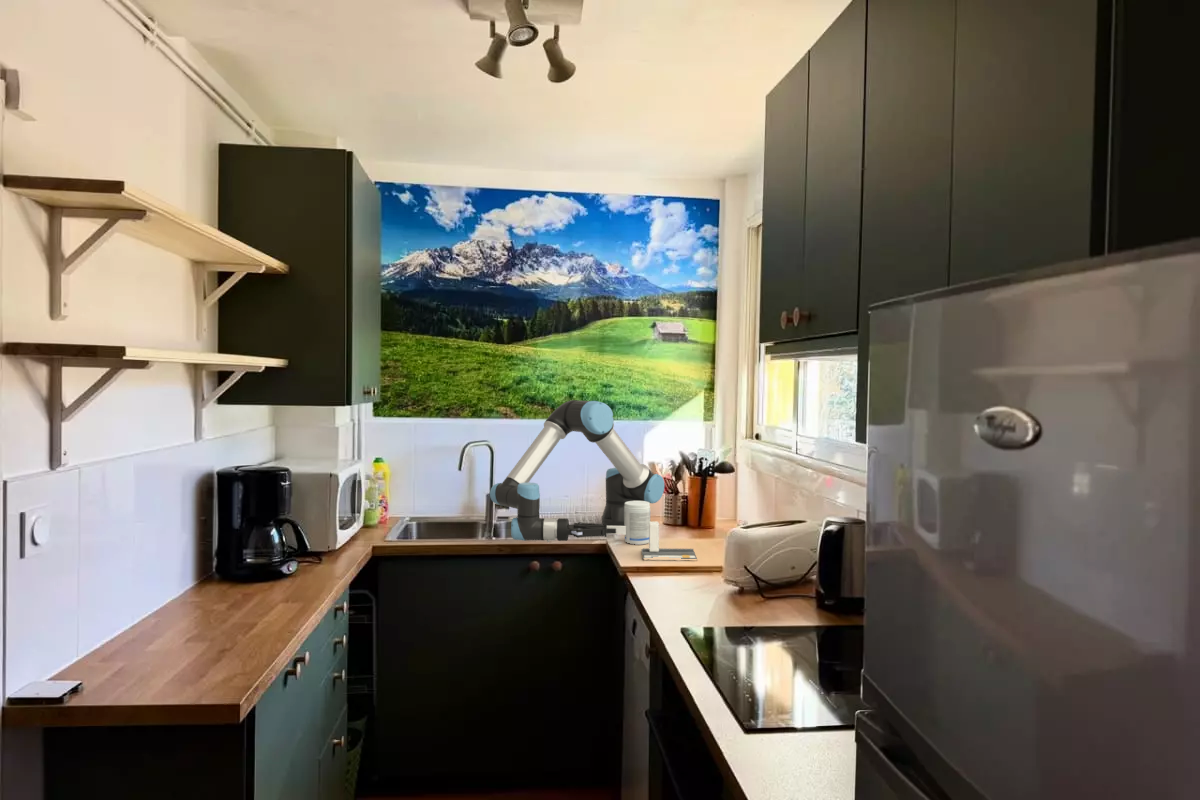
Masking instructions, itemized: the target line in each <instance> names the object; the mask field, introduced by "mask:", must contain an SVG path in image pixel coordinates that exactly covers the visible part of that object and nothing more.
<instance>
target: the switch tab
mask: <svg viewBox="0 0 1200 800" xmlns="http://www.w3.org/2000/svg"><path fill="white" fill-rule="evenodd" d="M648 545H649V546H648V548H649V552H659V549H660V523H659V521H650V522H649V543H648Z"/></svg>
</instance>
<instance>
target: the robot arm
mask: <svg viewBox="0 0 1200 800" xmlns="http://www.w3.org/2000/svg"><path fill="white" fill-rule="evenodd" d="M613 416H614V413H613V410H612V409H611V407H610V406H609V405H608V404H606V403H605V402H601V401H598V400H578V399H576V400H575V399H573V400H568V401H566V402H564V403H562V404H561V405H559V406H558V407H557V408H556V409H554V411H552V412H551V414H550V415H549V416H548V417H547V418H546V420H545V421H544V423H543V428H542V430H541V431H540V432H539V433H538V435H537V436H536V438H535V439H534V440H533V441H532V442H531V444H529V447H528V448H527V449H526V451H525V452H524V453H523V455H522V456H521V457H520V459H519V460H518V461H517V462H516V464H515V465H514V467H513V468H512V469H511V471H509V473H508V475H507V476H506V477H505V479H504V480H503V481H502V482H497V483H495V484H494V485H492V487H491V488H490V491H489V497H490V500H491V502H493V503H494V504H496V505H499V506H500V507H501V506H502V507H503V506H504V507H508V508H512V509H516V511H517V516H516V517H513V518H512V519H511V523H510V526H511V527H510V534H511V538H512V539H513V540H515V541H516V540H517V541H546V542H547V543H550V541H556V540H557V541H560V542H561V541H564V542H566V541H568V540H569V536H573V537H575V538H577V539H579V538H584V537H585V538H587V537H589V538H591V537H604V538H606V537H608V536H607V535H612V536H613V535H614V536H615V535H619V536H620V535H623V536H625V535H626V526H625V524H624V506H625V502H628V501H647V502H649V503H650V504H655V503H658V502H659V501H660V500H661V498H662V496H663V494H664V493H665V492H664V491H665V479H664V478H663V476H662V475H660V474H658V473H654V472H652V470H651V469H650V468H649V467H648V466H647V465H646V464H645V463H643V464H642V463H640V461H639V460H638V459H637V457H636V456H635V455H634V453H633V452H632V451H631V450H630V448H629V447H628V446H627V444H626V443H625V442H624V441H623V439H622V437H621V436H620V435H619V434H618V433H617V431H616V430H615V429H614V427H615V424H614V423H615V422H614V417H613ZM572 432H578V433H581V434H583V435H584V437H585V438H586V440H588V442H590V443H595V444H596V445H597V446H598V448H599V449H600V450H601V451H602V453H603V454H604V456H605V457H606V458H607V459H608V460H609V461H610V463H611V464H612V465H613V467H611V468H608V469H607V470H606V473H605V506H604V509H603V512H602V515H601V523H590V522H589V523H588V522H580V521H579V522H574V523H569V522H570V521H569V518H567V517H566V518H558V519H557V518H554V517H551V518H550V517H540V508H541V507H540V503H541V502H540V500H541V499H540V498H541V493H540V485H539V484H538V483H536V482H530V481H531V480H532V478H533V477H534V476H535V474H536V473H537V472H538V470H539V469H540V468H541V467H542V466H543V464H544V462H545V461H546V459H548V457H549V455H550V454H551V453H552V451H553V450H554V448H555V447H556V446H557V445H558V443H559V442H560V441H561V440H564V439H565V438H566V437H567V436H568V434H570V433H572Z"/></svg>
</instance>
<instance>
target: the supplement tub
mask: <svg viewBox="0 0 1200 800" xmlns="http://www.w3.org/2000/svg"><path fill="white" fill-rule="evenodd" d="M649 522H651V503H649V502H647V501H628V502H625V506H624V524H625V526H626V535H624V542H625V543H626V542H627V543H626V544H628V543H630V544H629V545H634V544H635V546H640V545H646V544H649Z"/></svg>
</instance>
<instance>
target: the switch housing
mask: <svg viewBox="0 0 1200 800" xmlns="http://www.w3.org/2000/svg"><path fill="white" fill-rule="evenodd" d="M642 555H643V557H642V559H643V558H653V557H669V558H681V559H697V560H698V558H697V555H696V553H695V550H694V548H659V552H649V547H648V548H645V547H644V548H642V549H641V556H642Z"/></svg>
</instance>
